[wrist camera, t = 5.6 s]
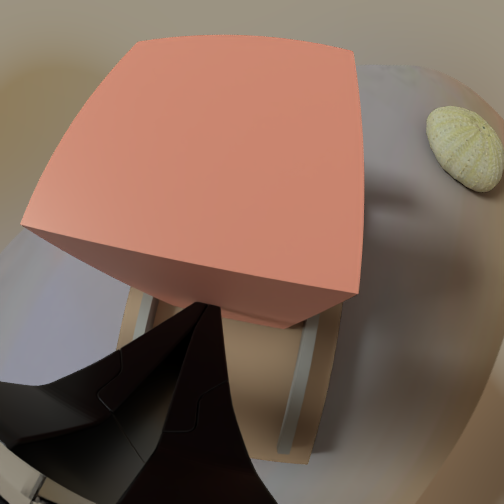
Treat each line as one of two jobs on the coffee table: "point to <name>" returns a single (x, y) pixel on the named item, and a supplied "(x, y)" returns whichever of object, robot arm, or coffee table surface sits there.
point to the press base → (263, 374)
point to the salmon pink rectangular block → (216, 176)
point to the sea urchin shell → (466, 147)
